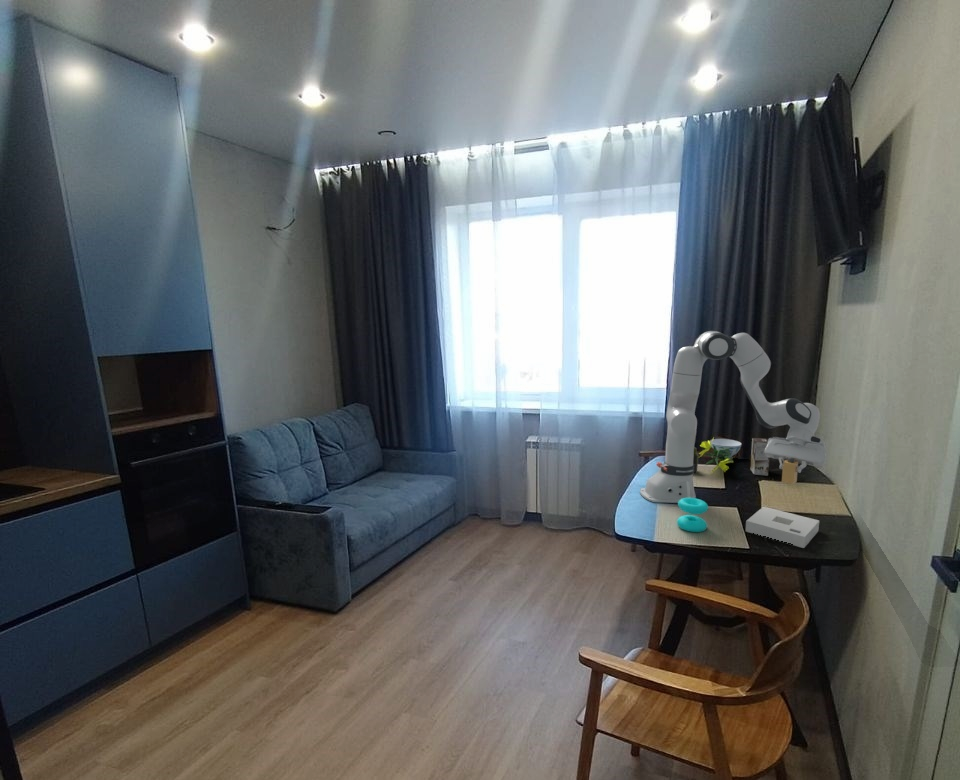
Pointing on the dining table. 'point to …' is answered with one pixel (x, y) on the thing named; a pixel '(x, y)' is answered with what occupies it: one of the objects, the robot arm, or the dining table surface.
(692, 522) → the donuts
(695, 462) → the supplement bottle
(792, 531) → the socket block
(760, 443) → the coffee box
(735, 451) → the chinaware
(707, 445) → the daffodil flowers
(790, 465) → the tan rectangular block
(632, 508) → the dining table surface
